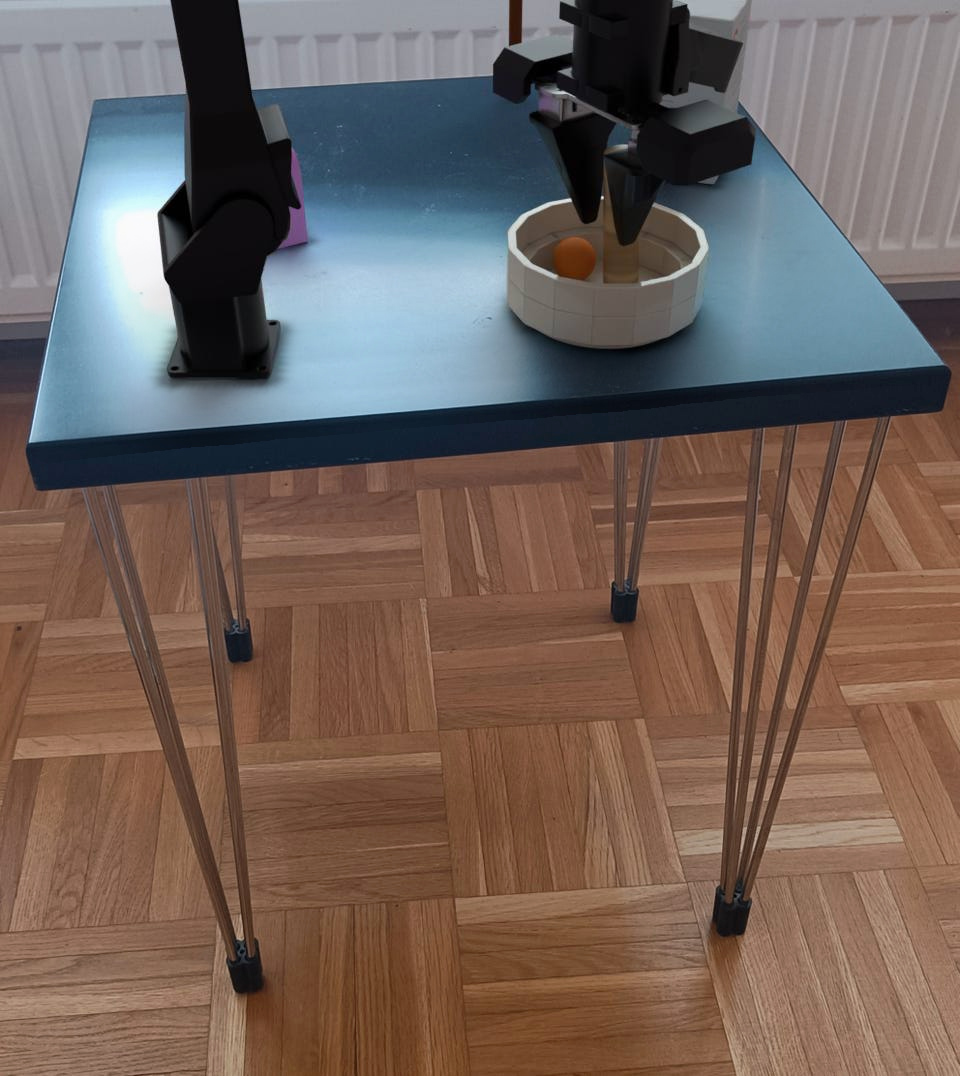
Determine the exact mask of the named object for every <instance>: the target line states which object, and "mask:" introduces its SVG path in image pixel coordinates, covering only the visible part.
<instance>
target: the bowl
mask: <svg viewBox="0 0 960 1076" xmlns="http://www.w3.org/2000/svg"><path fill="white" fill-rule="evenodd" d="M706 236H707V235H706V233H705V230H704V229H703V228H702V227H701V226H700V225H699V224H697V223H696V222H694V221H693V220H692V219H691V218H690V217H688V216H687V215H686V214H684V213H682V212H680V211H678V210H675V209H673V208H670V207H667V206H665V205H663V204H659V203H657V202H654V204H653V206H652V208H651V210H650V212H649V214H648V216H647V218H646V220H645V222H644V224H643V226H642V229H641V231H640V237H639V279H638V283H603V195H602V196H601V202H600V207H599V212H598V217H597V220H596V221H595V222H592V223H589V224H584V223H582V222H581V221H580V218H579V216H578V214H577V212H576V209H575V207H574V205H573V203H572V200H571V198H570V197H569V198H563V199H559V200H553V201H548V202H545V203H543V204H541V205H539V206H536V207H534V208H533V209H531V210H528V211H527V212H524V213H521V214H520V216H518V218H516V220H515V221H514V222H513V224H511V226H510V227H509V228H508V229H507V232H506V304H507V306H508V307H509V309H510V310H512V312H513V313H514V314H515V315H516V316H517V318H518V319H520V321H521V322H522V323H523V324H524V325H526V326H527V327H530V328H532V329H534V330H536V331H538V332H539V333H541V334H542V335H544V336H546V337H548V338H550V339H552V340H556V341H558V342H561V343H564V344H568V345H572V346H577V347H582V348H589V349H598V350H599V349H600V350H601V349H604V350H614V349H616V350H617V349H619V350H620V349H628V348H629V349H630V348H634V347H635V348H636V347H641V346H644V345H648V344H652V343H654V342H657V341H660V340H662V339H666V338H669V337H671V336H672V335H674V334H676V333H677V332H679V331H681V330H683V329H684V328H686V327H687V326H689V325H691V324H692V323H693V322H694V320H695V318H696V316H698V315H697V314H698V313H699V311H700V309H701V307H702V305H703V303H704V301H703V300H704V294H705V293H704V292H705V285H706V277H707V271H708V270H707V269H708V262H709V255H710V254H709V253H710V245H709V243H708V239H707V237H706ZM571 237H578V238H582V239H584V240H586V241H588V242H589V243H590V244H591V245H592V247H593V248H594V251H595V253H596V265H595V268H594V270H593V271H592V273H591V274H590V275H589V276H588V277H587V278H585V279H583V280H581V281H580V280H575V279H570V278H565V277H560V276H559V275H558V274H557V272H556V271H555V268H554V266H553V254H554V251H555V249H556V247H557V246H558V245H559V244H560V243H561V242H562V241H563V240H565V239H568V238H571Z"/></svg>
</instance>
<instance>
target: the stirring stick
mask: <svg viewBox="0 0 960 1076" xmlns="http://www.w3.org/2000/svg"><path fill="white" fill-rule="evenodd" d="M624 148H628V144H615V145H611V146H609V147H608V146H607V149H605V151H604V155H605V154H608V153H611V152H615V151H618V150H621V149H624ZM602 194H603V195H602V196H603V283H638V279H639V237H640V233H639V235H638V237H637V239H636V241H635V242H634V243H633V244H630V245H627V246H622V245H620V244H619V242H618V238H617V234H616V230H615V226H614V220H613V213H612V207H611V201H610V194H609V188H608V182H607V176H606V170H605V164H604V165H603V187H602Z"/></svg>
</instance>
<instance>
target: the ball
mask: <svg viewBox="0 0 960 1076" xmlns="http://www.w3.org/2000/svg"><path fill="white" fill-rule="evenodd" d="M595 265H596V253H595V251H594V248H593V247H592V245H591V244H590V243H589V242H588V241H586V240H584V239H582V238H578V237H571V238H568V239H565V240H563V241H562V242H561V243H560V244H559V245H558V246H557V247H556V249H555V251H554V254H553V266H554V268H555V271H556V272H557V274H558V275H559V276H560V277H565V278H570V279H575V280H580V281H581V280H583V279H585V278H587V277H588V276H589V275H590V274H591V273H592V271H593V270H594V268H595Z"/></svg>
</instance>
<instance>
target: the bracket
mask: <svg viewBox="0 0 960 1076" xmlns="http://www.w3.org/2000/svg"><path fill="white" fill-rule="evenodd" d="M291 174H292V177H293V181H294V184H295V187H296V190H297V194H298V197H299V200H300V203H301V208H300V209H299V210H297V209H294V208H292V207H289V210H290V214H291V219H290V231H289V234H288V237H287V239H286V240H285V241H283V242H282V244H281V245H280V246H279V247H278V248H277V250H280V249H284V248H288V247H291V246H296V245H298V244H303V243H304V244H305V243H307V242H308V241H309V240H308V230H307V219H306V209H305V199H304V189H303V178H302V171H301V165H300V162H299V159H298V156H297V153H296V151H295V149H294V148H293V147H292V165H291Z"/></svg>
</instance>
